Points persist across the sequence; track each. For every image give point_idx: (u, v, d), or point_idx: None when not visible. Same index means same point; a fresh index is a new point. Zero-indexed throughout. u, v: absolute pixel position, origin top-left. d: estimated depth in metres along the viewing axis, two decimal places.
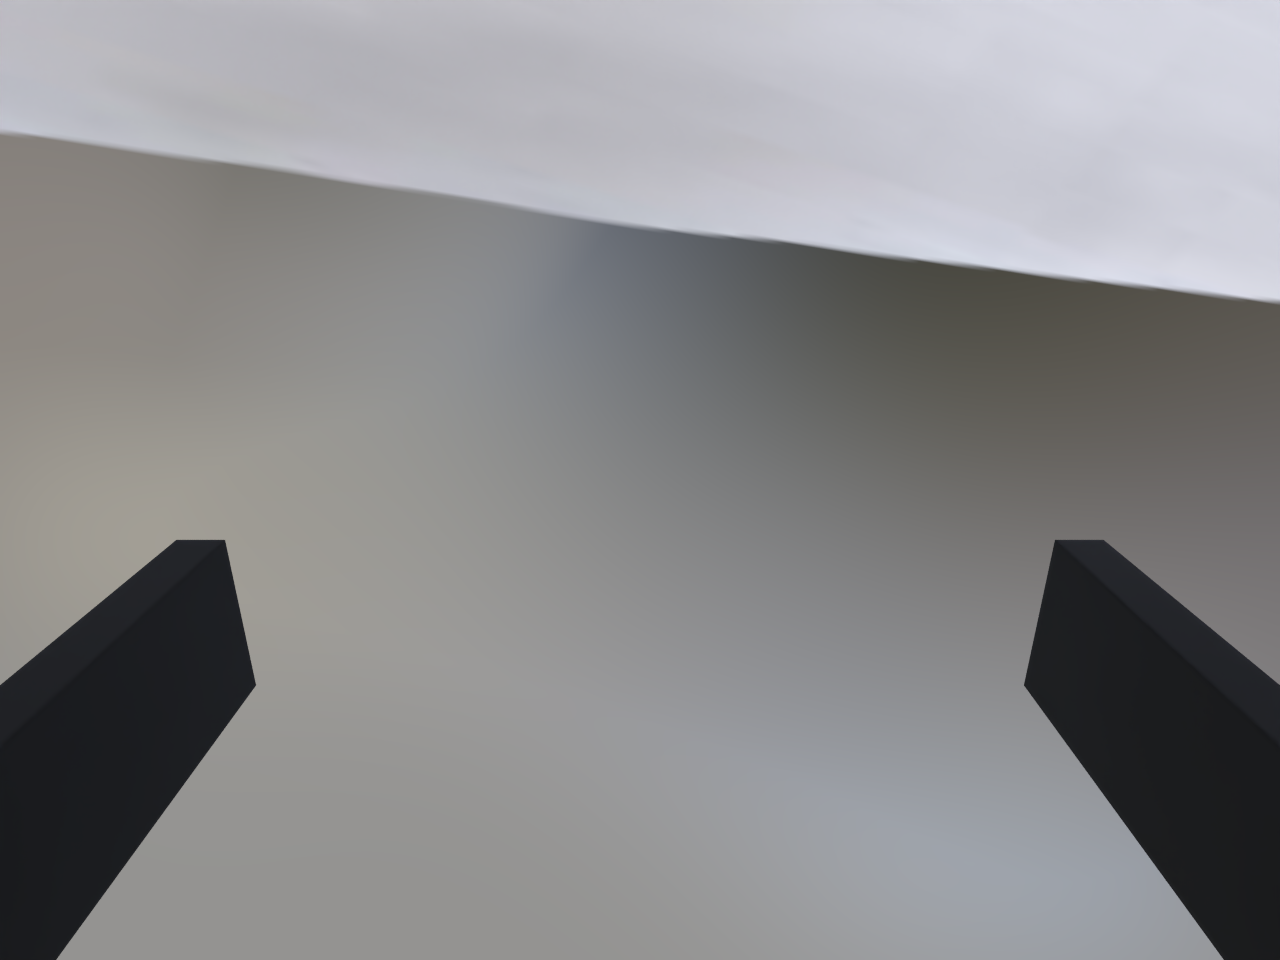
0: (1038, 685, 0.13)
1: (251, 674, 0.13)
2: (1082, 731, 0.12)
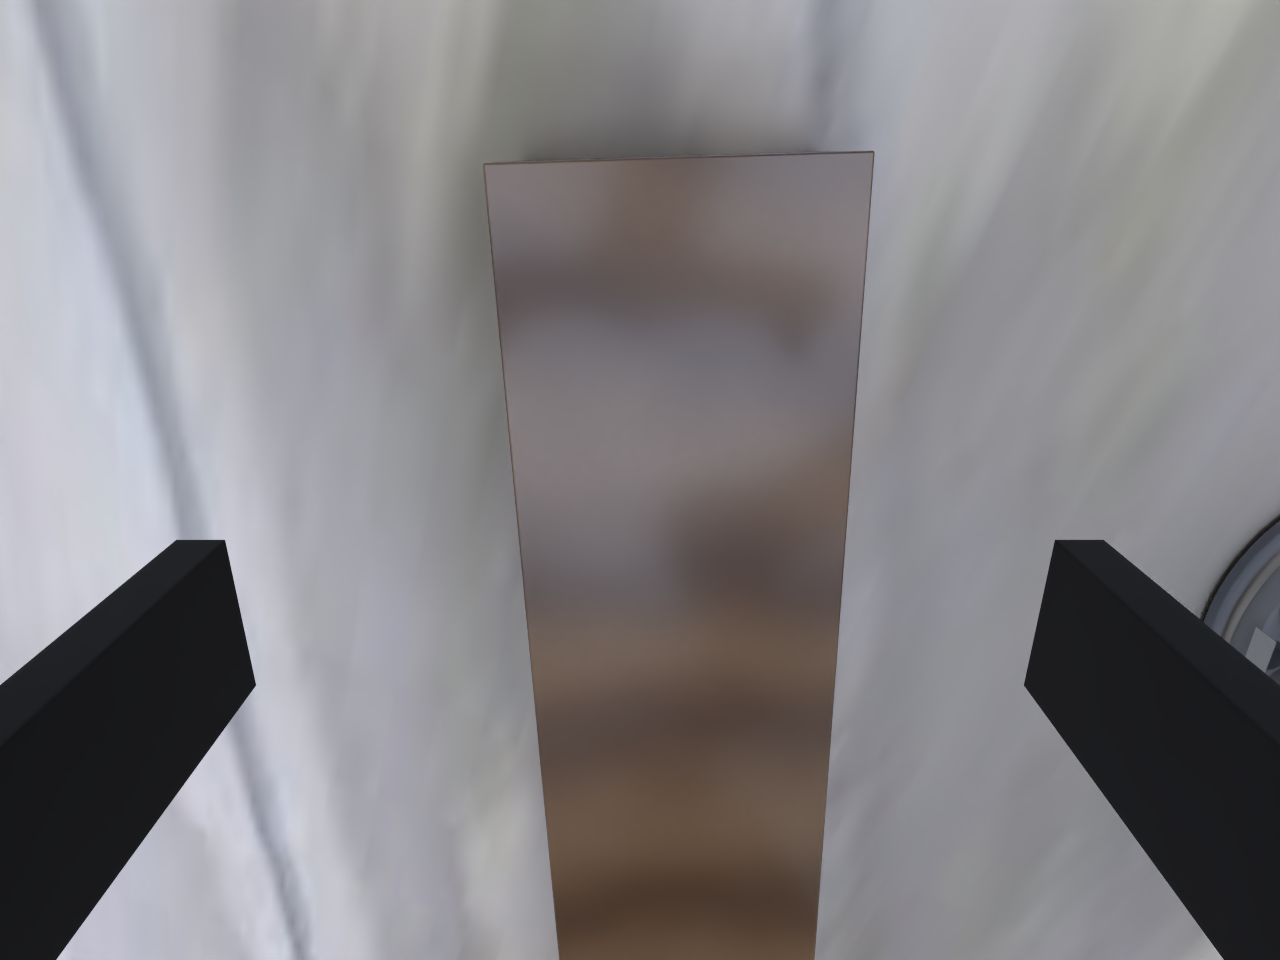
0: (1038, 685, 0.13)
1: (251, 674, 0.13)
2: (1082, 731, 0.12)
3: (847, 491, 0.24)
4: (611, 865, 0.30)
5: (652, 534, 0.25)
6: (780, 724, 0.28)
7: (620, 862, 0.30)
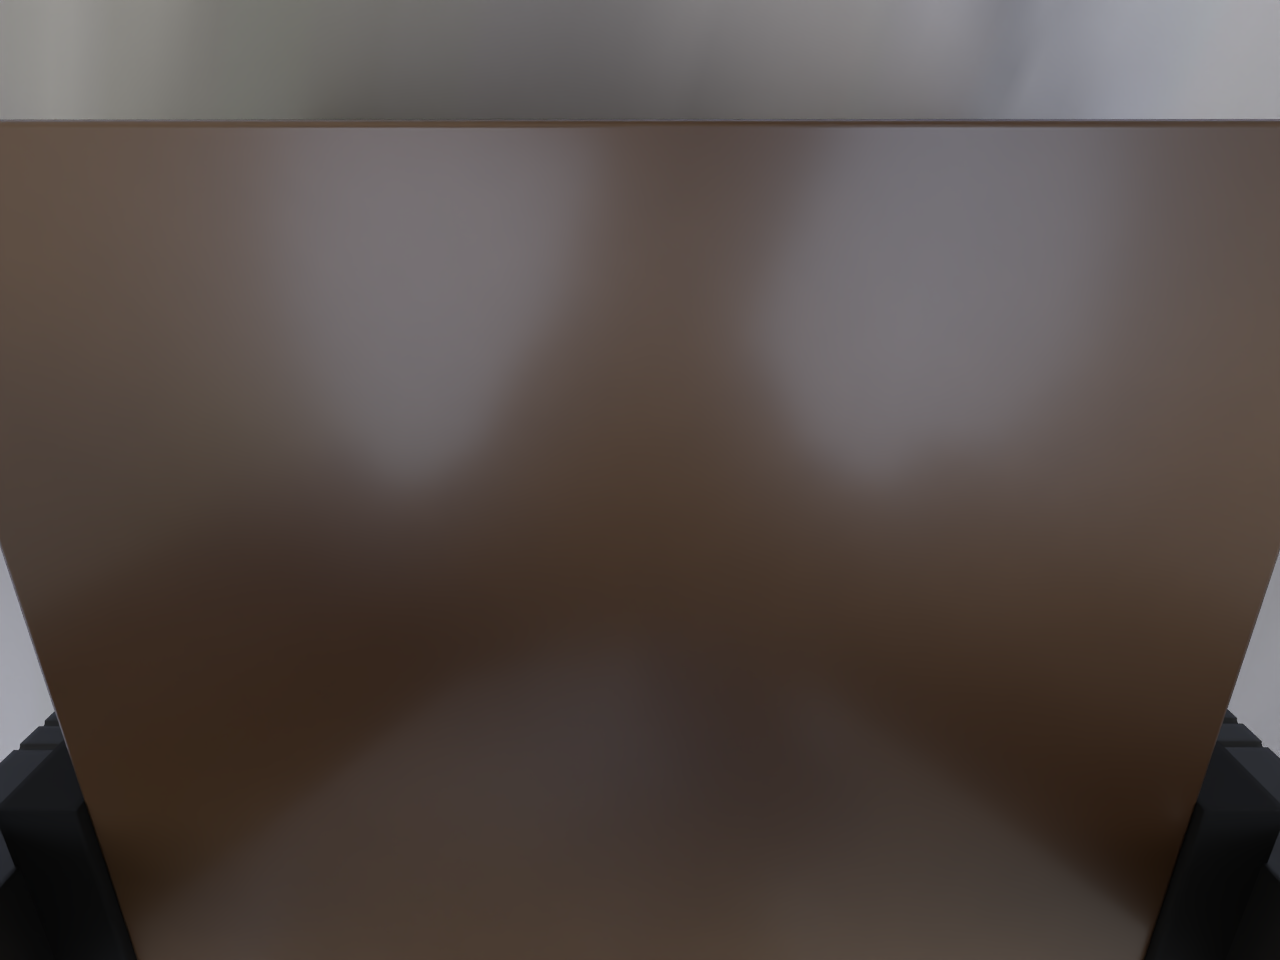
0: None
1: None
2: None
3: None
4: None
5: None
6: None
7: None
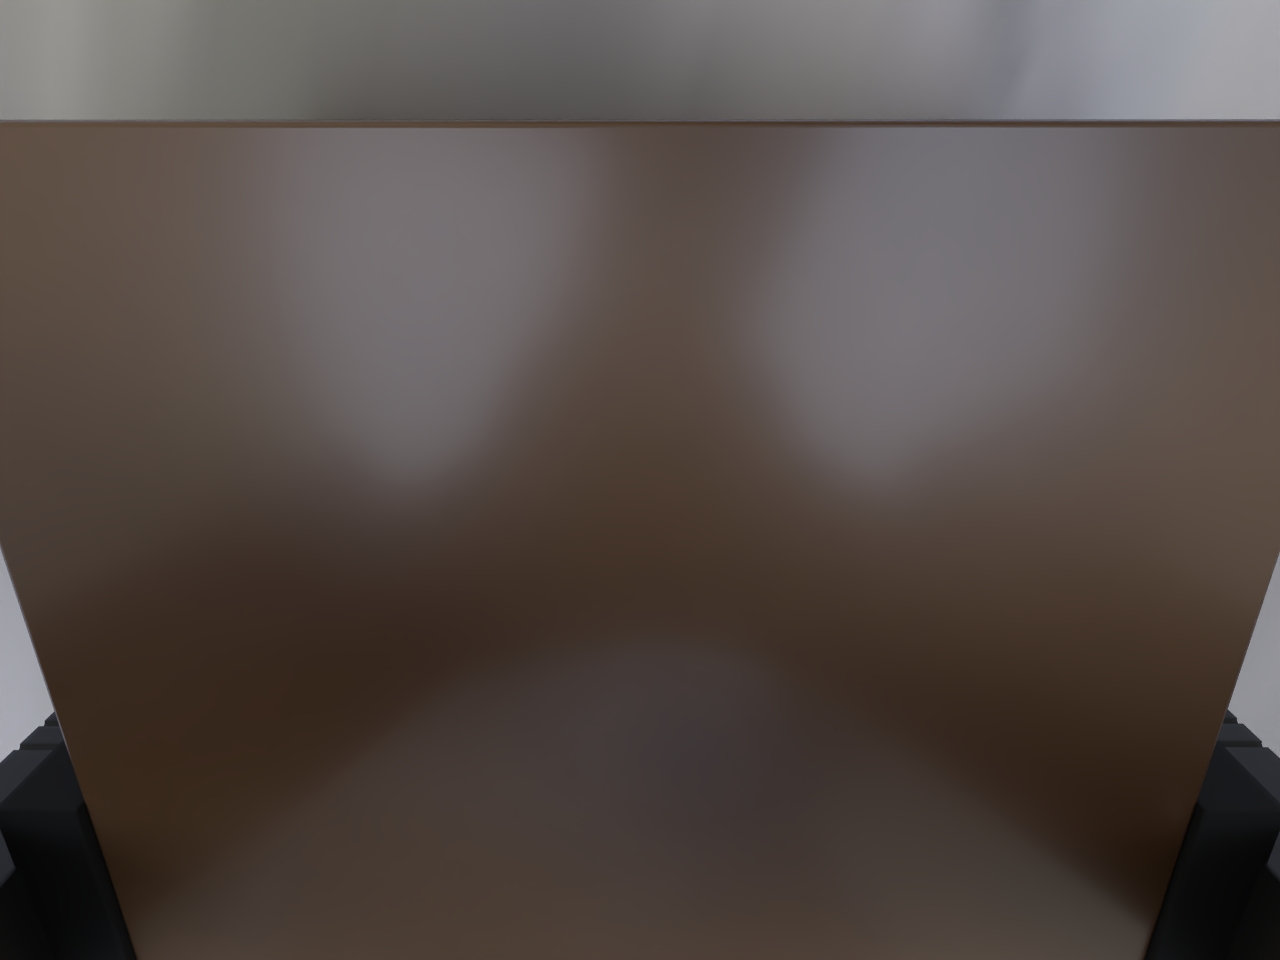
0: None
1: None
2: None
3: None
4: None
5: None
6: None
7: None
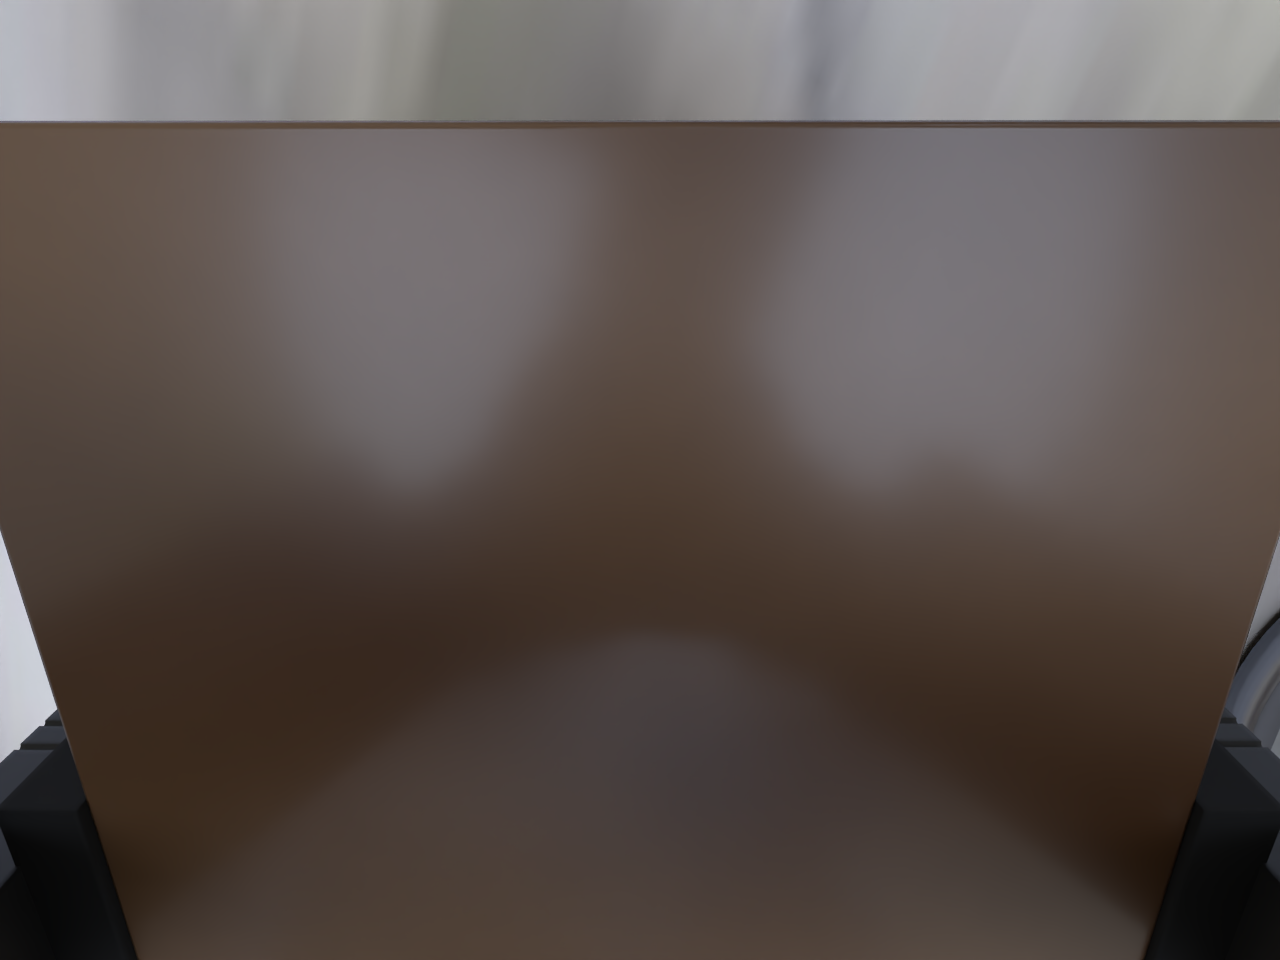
0: None
1: None
2: None
3: None
4: None
5: None
6: None
7: None
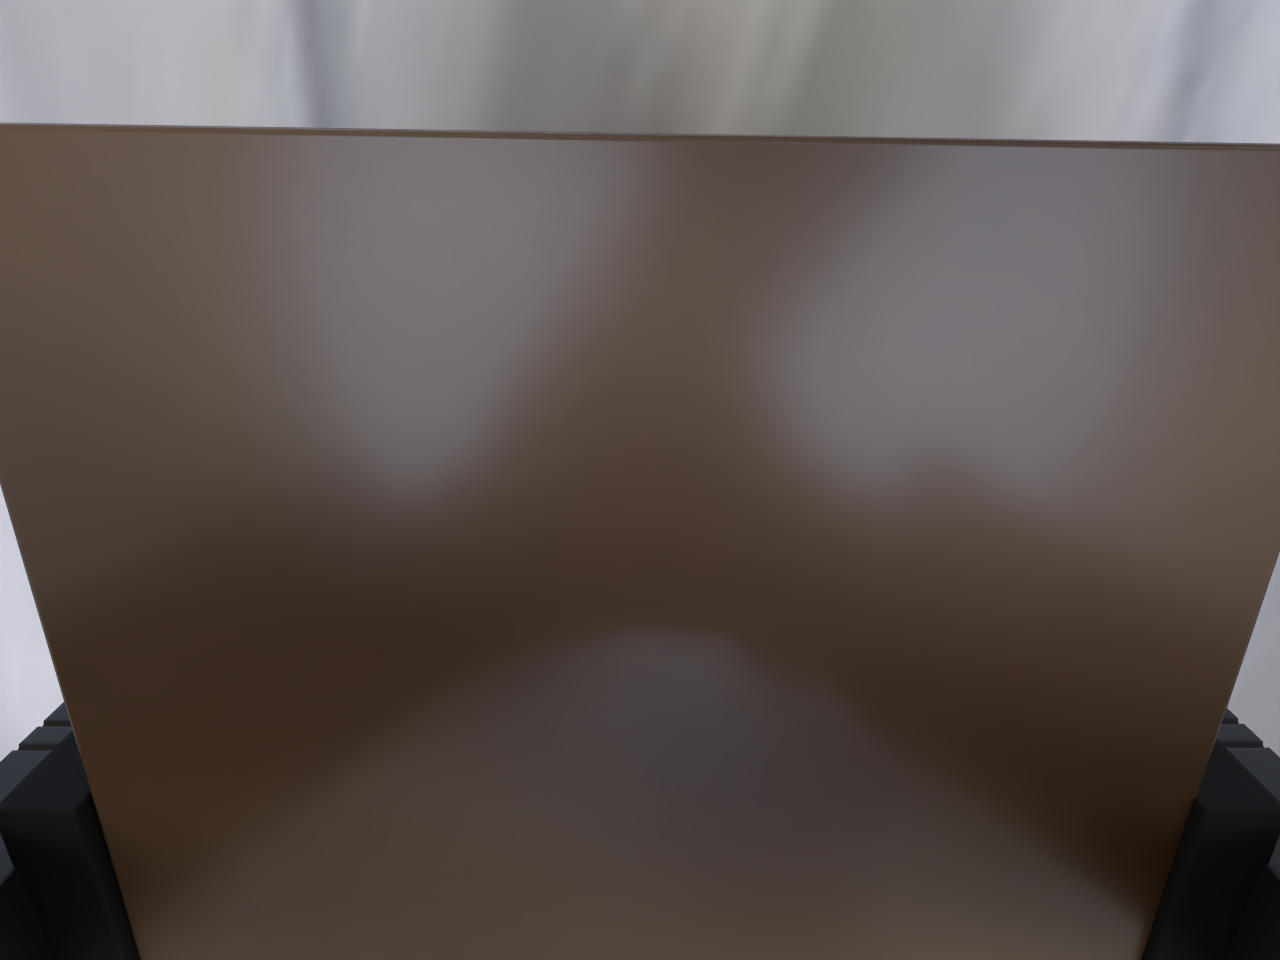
0: None
1: None
2: None
3: None
4: None
5: None
6: None
7: None
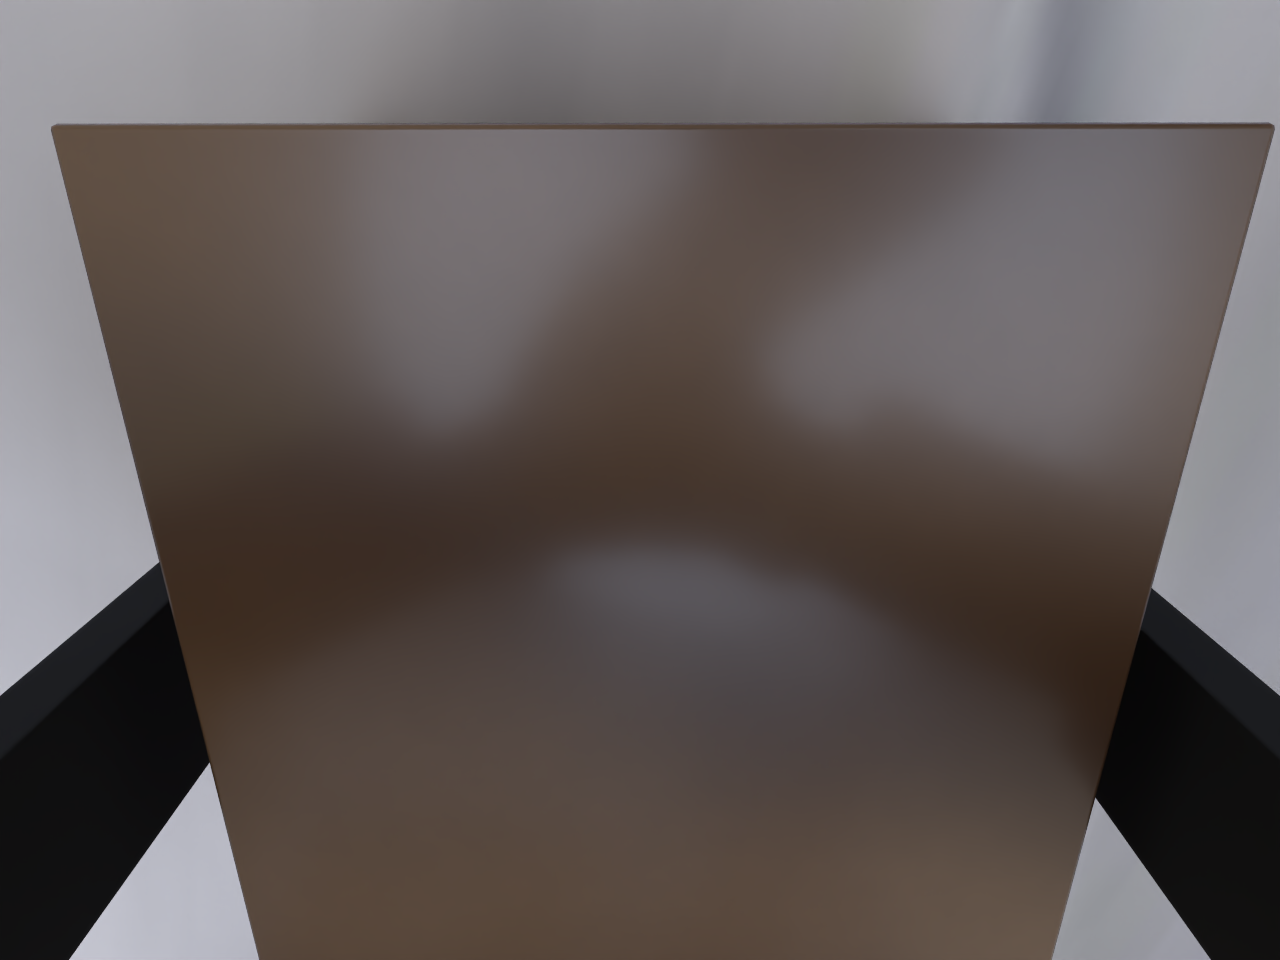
0: None
1: None
2: None
3: (1052, 948, 0.10)
4: None
5: None
6: None
7: None
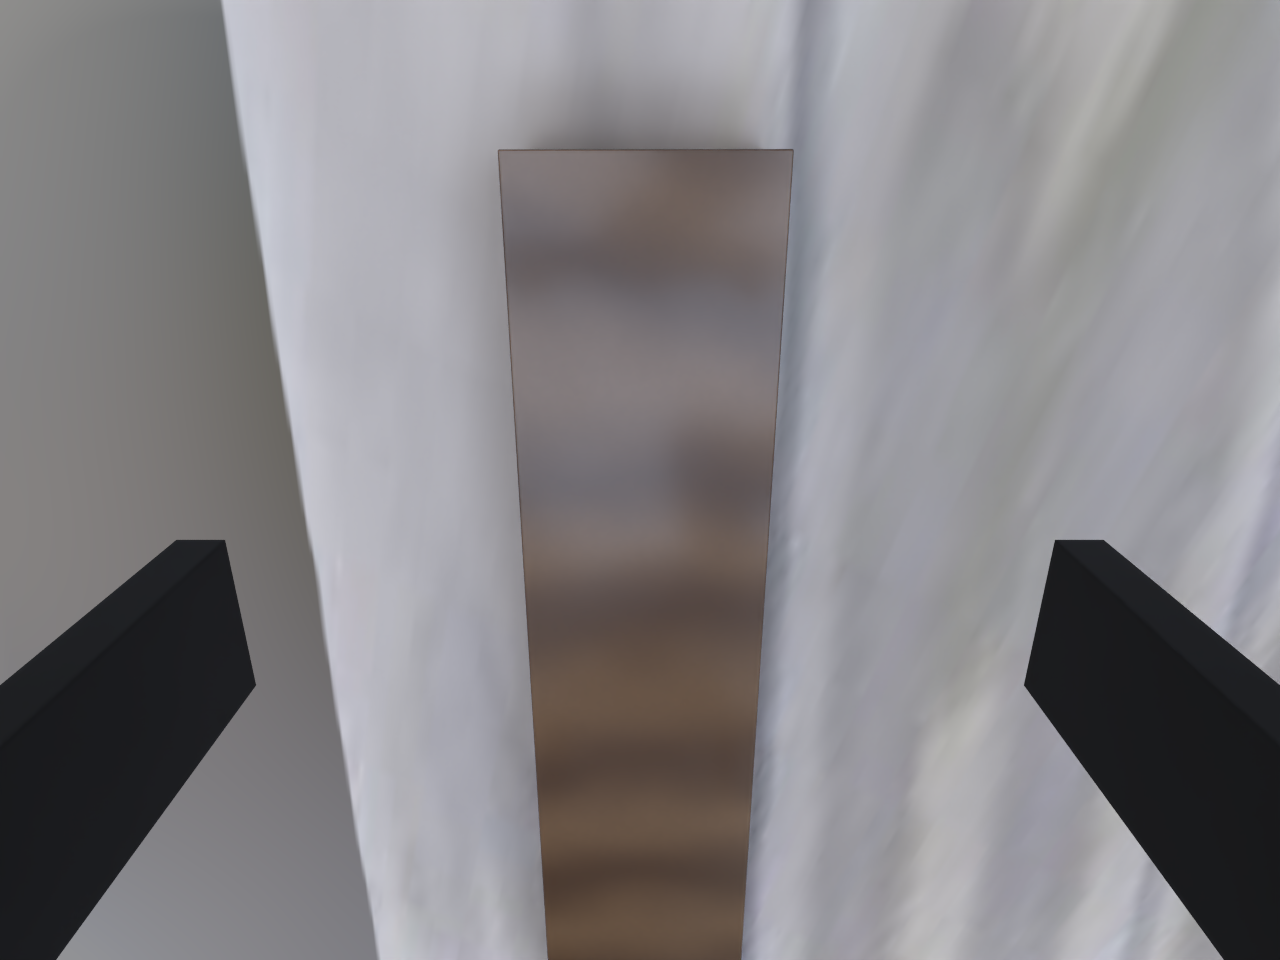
0: (1038, 685, 0.13)
1: (251, 674, 0.13)
2: (1082, 731, 0.12)
3: (774, 416, 0.31)
4: (583, 730, 0.37)
5: (621, 447, 0.32)
6: (722, 609, 0.35)
7: (591, 727, 0.37)
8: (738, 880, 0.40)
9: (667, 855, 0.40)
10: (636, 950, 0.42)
